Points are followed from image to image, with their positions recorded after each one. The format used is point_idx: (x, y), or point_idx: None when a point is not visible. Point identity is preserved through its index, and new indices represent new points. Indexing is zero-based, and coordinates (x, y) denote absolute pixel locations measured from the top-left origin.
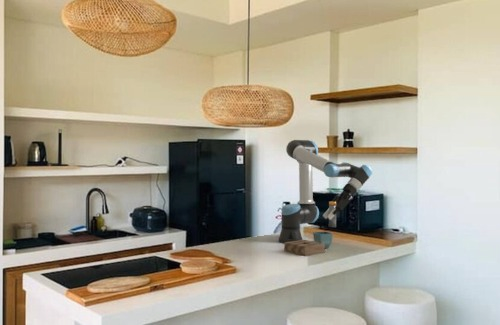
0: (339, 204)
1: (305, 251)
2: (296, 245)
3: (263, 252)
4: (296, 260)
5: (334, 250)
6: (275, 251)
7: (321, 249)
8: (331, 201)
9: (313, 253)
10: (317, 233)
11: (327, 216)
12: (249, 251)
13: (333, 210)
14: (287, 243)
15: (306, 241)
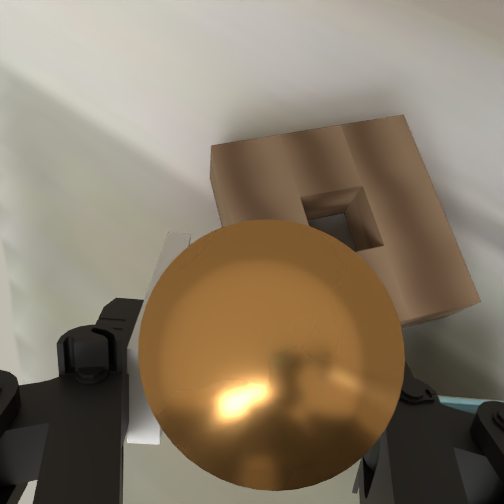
0: (40, 482)
1: (211, 167)
2: (291, 133)
3: (388, 44)
4: (130, 77)
5: (299, 497)
6: (395, 107)
7: None
8: (376, 355)
9: None
10: (472, 399)
11: (182, 234)
12: (433, 3)
13: (139, 313)
14: (374, 120)
15: (401, 274)
